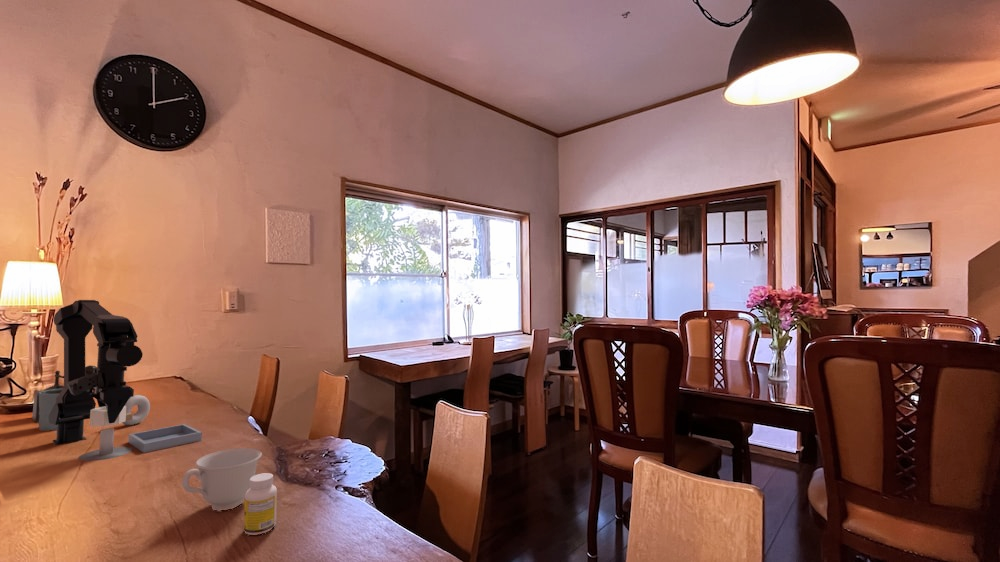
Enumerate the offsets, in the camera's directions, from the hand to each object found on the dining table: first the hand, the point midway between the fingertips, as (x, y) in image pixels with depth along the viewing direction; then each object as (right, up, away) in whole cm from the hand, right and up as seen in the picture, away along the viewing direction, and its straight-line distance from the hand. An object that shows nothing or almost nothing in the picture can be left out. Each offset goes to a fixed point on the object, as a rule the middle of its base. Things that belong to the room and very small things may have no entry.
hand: (107, 420), depth 120 cm
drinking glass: (-39, -10, +25) cm, 47 cm away
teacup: (+50, -9, -29) cm, 58 cm away
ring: (0, -1, 0) cm, 1 cm away
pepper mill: (-50, -11, +38) cm, 64 cm away
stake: (0, -10, 0) cm, 10 cm away
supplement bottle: (+62, -9, -37) cm, 73 cm away
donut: (-17, -11, +29) cm, 35 cm away
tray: (+8, -10, +10) cm, 17 cm away
